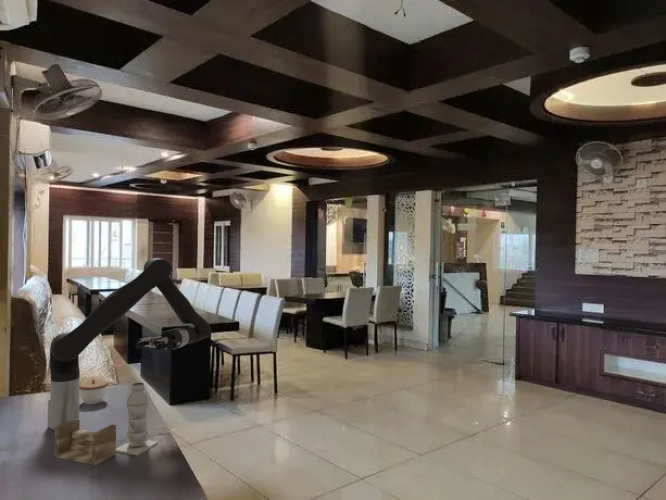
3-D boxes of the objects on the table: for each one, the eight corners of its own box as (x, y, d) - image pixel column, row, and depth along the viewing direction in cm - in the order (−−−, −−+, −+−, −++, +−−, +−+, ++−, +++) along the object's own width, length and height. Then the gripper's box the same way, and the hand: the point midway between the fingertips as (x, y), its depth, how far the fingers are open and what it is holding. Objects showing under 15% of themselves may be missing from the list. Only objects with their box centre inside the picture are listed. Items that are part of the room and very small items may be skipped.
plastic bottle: (140, 450, 155) (141, 387, 155) (121, 448, 156) (122, 386, 156) (152, 442, 161) (153, 382, 161) (133, 440, 163) (134, 380, 163)
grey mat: (113, 451, 155) (113, 449, 155) (135, 439, 165) (135, 438, 165) (137, 455, 153) (137, 453, 153) (157, 443, 162) (157, 441, 162)
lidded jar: (82, 399, 207) (82, 377, 207) (109, 397, 210) (110, 375, 209) (75, 407, 197) (75, 384, 197) (104, 405, 199) (104, 382, 199)
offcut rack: (54, 457, 150) (54, 427, 150) (75, 447, 158) (75, 418, 158) (96, 465, 146) (96, 434, 146) (115, 454, 153) (116, 425, 153)
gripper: (159, 327, 190) (130, 334, 175) (190, 330, 186) (164, 337, 170) (158, 347, 190) (129, 355, 175) (190, 349, 186) (163, 359, 170)
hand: (146, 346), depth 173 cm, fingers open, 8 cm apart
